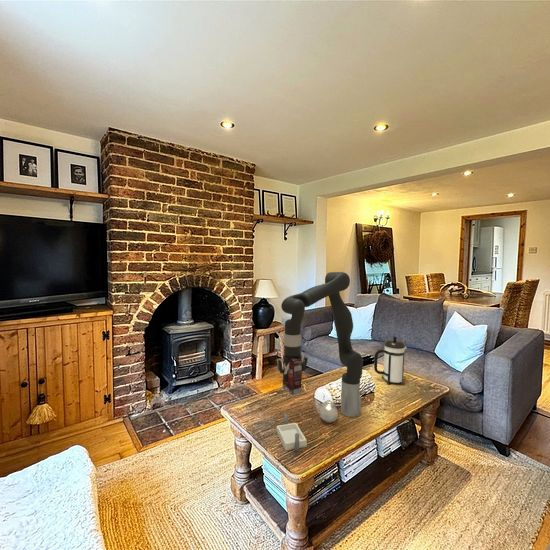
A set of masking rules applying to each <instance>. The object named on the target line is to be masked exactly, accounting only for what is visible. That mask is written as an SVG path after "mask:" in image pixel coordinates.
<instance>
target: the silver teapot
mask: <svg viewBox="0 0 550 550" xmlns="http://www.w3.org/2000/svg"><path fill="white" fill-rule="evenodd" d="M319 415H320V417H321V419H322V420H323V421H324V422H325V423H333V422H335V421H337V419H338V416H339V410H338V407H336V404H335V402H333V401H332V400H330V399H327V400H325V401H324V402H323V403H322V405H321V407H320V411H319Z"/></svg>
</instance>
